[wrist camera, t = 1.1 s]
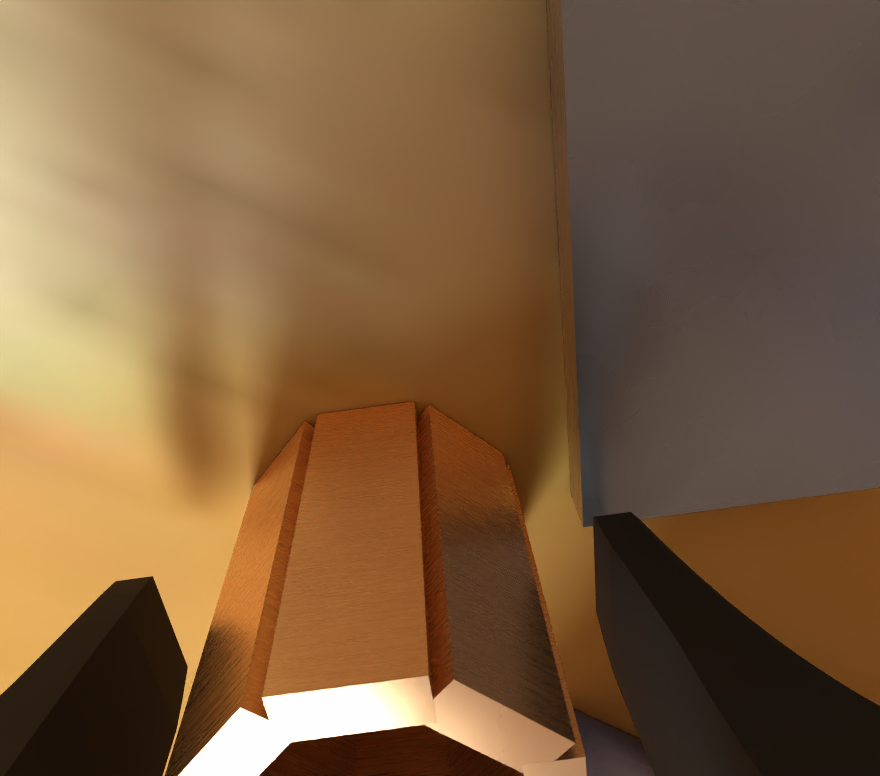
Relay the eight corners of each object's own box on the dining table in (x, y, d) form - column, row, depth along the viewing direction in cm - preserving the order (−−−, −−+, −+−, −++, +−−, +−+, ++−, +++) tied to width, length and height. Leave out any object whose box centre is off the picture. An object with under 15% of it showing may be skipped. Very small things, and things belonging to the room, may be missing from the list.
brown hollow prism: (502, 389, 13) (580, 655, 7) (522, 598, 15) (593, 922, 10) (229, 425, 13) (110, 717, 7) (288, 629, 15) (229, 968, 10)
